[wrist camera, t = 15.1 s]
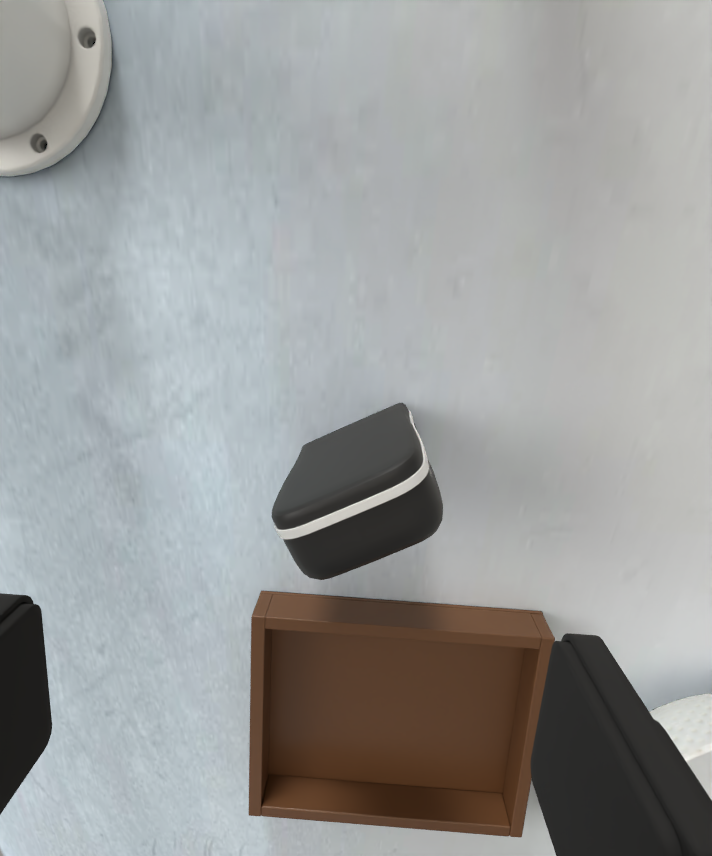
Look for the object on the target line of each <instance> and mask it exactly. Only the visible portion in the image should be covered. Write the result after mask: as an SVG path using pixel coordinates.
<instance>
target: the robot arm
mask: <svg viewBox="0 0 712 856" xmlns="http://www.w3.org/2000/svg"><path fill="white" fill-rule="evenodd" d="M94 41H96V42H95V44H94V46H93V47H92V43H93V42H94ZM111 67H112V40H111V34H110V28H109V22H108V16H107V11H106V8H105V5H104V2H103V0H0V176H10V177H11V176H18V175H24V174H30V173H34V172H37V171H39V170H42V169H44V168H47V167H49V166H52V165H54V164H55V163H57V162H58V161H60V160H61V159H62V158H64V157H65V156H67V155H68V154H70V153H71V152H72V151H73V150H74V149H75V148H76V147H77V146H78V145H79V144H80V143H81V141H82V140H83V139H84V138H85V137H86V136H87V134H88V133H89V131H90V129H91V128H92V126H93V125H94V123H95V121H96V120H97V118H98V116H99V114H100V111H101V108H102V106H103V103H104V100H105V97H106V95H107V91H108V85H109V79H110V73H111ZM46 144H47V149H46V150H45V145H46ZM51 730H52V720H51V709H50V699H49V688H48V677H47V667H46V656H45V645H44V635H43V624H42V613H41V608H40V607H39V606H38V605H36V604H33V601H32V599H31V597H29V596H27V595H13V594H0V814H1V813H2V811H3V810H4V808H5V807H6V805H7V804H8V802H9V801H10V799H11V798H12V796H13V795H14V793H15V792H16V791H17V789H18V788H19V786H20V785H21V783H22V782H23V780H24V779H25V777H26V776H27V774H28V773H29V771H30V770H31V769H32V767H33V766H34V764H35V763H36V761H37V760H38V758H39V757H40V755H41V754H42V752H43V751H44V749H45V748H46V746H47V744H48V741H49V739H50V735H51ZM531 777H532V782H533V785H534V788H535V791H536V794H537V797H538V801H539V804H540V807H541V810H542V813H543V816H544V819H545V822H546V825H547V828H548V831H549V834H550V837H551V840H552V843H553V846H554V849H555V852H556V855H557V856H712V800H711V798H710V797H709V795H708V794H707V792H706V791H705V789H704V788H703V786H702V785H701V783H700V782H699V780H698V779H697V777H696V776H695V774H694V773H693V771H692V770H691V768H690V767H689V765H688V764H687V762H686V761H685V759H684V758H683V756H682V754H681V753H680V751H679V750H678V748H677V747H676V745H675V744H674V742H673V741H672V739H671V738H670V736H669V735H668V733H667V732H666V730H665V729H664V728H663V727H662V725H661V724H660V723H659V722H658V721H656V720H654V719H653V717H652V716H651V714H650V713H649V711H648V710H647V708H646V707H645V705H644V703H643V702H642V700H641V699H640V697H639V696H638V694H637V693H636V691H635V690H634V688H633V686H632V685H631V683H630V682H629V680H628V679H627V677H626V676H625V674H624V673H623V671H622V670H621V668H620V666H619V665H618V663H617V662H616V660H615V659H614V657H613V656H612V654H611V653H610V651H609V649H608V648H607V646H606V645H605V643H604V642H603V640H602V639H601V638H600V637H599V636H595V635H581V634H565V635H564V636H563V638H562V641H555V642H554V643H553V645H552V649H551V654H550V659H549V664H548V670H547V675H546V680H545V686H544V691H543V696H542V702H541V707H540V712H539V718H538V723H537V728H536V734H535V739H534V744H533V750H532V755H531Z"/></svg>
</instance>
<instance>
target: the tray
mask: <svg viewBox="0 0 712 856" xmlns="http://www.w3.org/2000/svg"><path fill="white" fill-rule="evenodd" d="M554 642H555V638H554V636H553V634H552V632H551V630H550V628H549V626H548V624H547V622H546V620H545V618H544V616H543V613H542V612H541V611H529V610H515V609H502V608H488V607H474V606H461V605H447V604H434V603H420V602H406V601H393V600H379V599H365V598H352V597H338V596H324V595H311V594H297V593H284V592H270V591H261V593H260V596H259V598H258V601H257V604H256V606H255V609H254V611H253V614H252V623H251V694H250V764H249V815H251V816H261V815H262V816H267V817H279V818H292V819H304V820H316V821H328V822H340V823H352V824H364V825H376V826H389V827H401V828H413V829H425V830H437V831H449V832H461V833H474V834H486V835H498V836H509V835H510V836H511V837H522V832H523V826H524V820H525V814H526V808H527V802H528V796H529V790H530V784H531V778H532V777H531V755H532V750H533V744H534V739H535V734H536V728H537V723H538V718H539V712H540V707H541V702H542V696H543V691H544V686H545V680H546V675H547V670H548V664H549V659H550V654H551V649H552V645H553V643H554Z"/></svg>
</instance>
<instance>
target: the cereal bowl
mask: <svg viewBox="0 0 712 856" xmlns="http://www.w3.org/2000/svg"><path fill="white" fill-rule="evenodd" d="M649 713H650V714H651V716H652V717H653V719H654V720H656V721H658V722H659V723H660V724H661V725H662V727H663V728H664V729H665V730H666V732H667V733H668V735H669V736H670V738H671V739H672V741H673V742H674V744H675V745H676V747H677V748H678V750H679V751H680V753H681V754H682V756H683V758H684V759H685V761H686V762H687V764H688V765H689V767H690V768H691V770H692V771H693V773H694V774H695V776H696V777H697V779H698V780H699V782H700V783H701V785H702V786H703V788H704V789H705V791H706V792H707V794H708V795H709V797H710V798H711V800H712V694H708V693H706V694H701V695H696V696H690V697H688V698H683V699H678V700H676V701H674V702H670V703H669V704H665V705H662V706H661V707H658V708H655V709H654V710H653V711H649Z"/></svg>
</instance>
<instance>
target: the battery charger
mask: <svg viewBox="0 0 712 856" xmlns="http://www.w3.org/2000/svg"><path fill="white" fill-rule="evenodd" d="M442 515H443V504H442V499H441V494H440V490H439V487H438V484H437V481H436V478H435V475H434V472H433V470H432V467H431V465H430V463H429V461H428V458H427V454H426V450H425V448H424V445H423V443H422V440H421V438H420V436H419V434H418V432H417V430H416V426H415V424H414V421H413V416H412V414H411V411H408V409H407V407H406V405H405V404H403V403H398V404H396V405H393V406H391V407H389V408H387V409H384V410H382V411H380V412H377V413H375V414H373V415H370V416H368V417H366V418H364V419H361V420H359V421H357V422H354V423H352V424H350V425H348V426H345V427H343V428H341V429H339V430H336V431H334V432H332V433H330V434H327V435H325V436H323V437H321V438H318V439H316V440H314V441H312V442H309V443H307V444H305V445H304V446H303V447H302V450H301V452H300V455H299V457H298V459H297V461H296V463H295V465H294V466H293V468H292V470H291V471H290V473H289V475H288V477H287V478H286V480H285V482H284V484H283V486H282V488H281V490H280V492H279V494H278V496H277V499H276V501H275V503H274V506H273V509H272V519H273V521H274V523H275V524H274V528H275V530H276V532H277V533H278V535H279V537H280V538H282V539H283V540H284V542H285V544H286V546H287V548H288V549H289V551H290V553H291V555H292V557H293V559H294V561H295V562H296V564H297V565H298V567H299V568H300V570H301V571H302V572H303V573H304V574H305V575H307V576H308V577H310V578H314V579H320V580H324V579H329V578H332V577H335V576H338V575H340V574H343V573H345V572H348V571H351V570H353V569H356V568H358V567H361V566H363V565H366V564H368V563H371V562H374V561H376V560H379V559H381V558H383V557H386V556H388V555H391V554H393V553H396V552H398V551H400V550H403V549H405V548H408V547H410V546H412V545H415V544H417V543H419V542H422V541H423V540H425V539H427V538H428V537H430V536H432V535H433V534H434V533H435V532H436V531H437V529H438V527H439V525H440V523H441V521H442Z"/></svg>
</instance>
